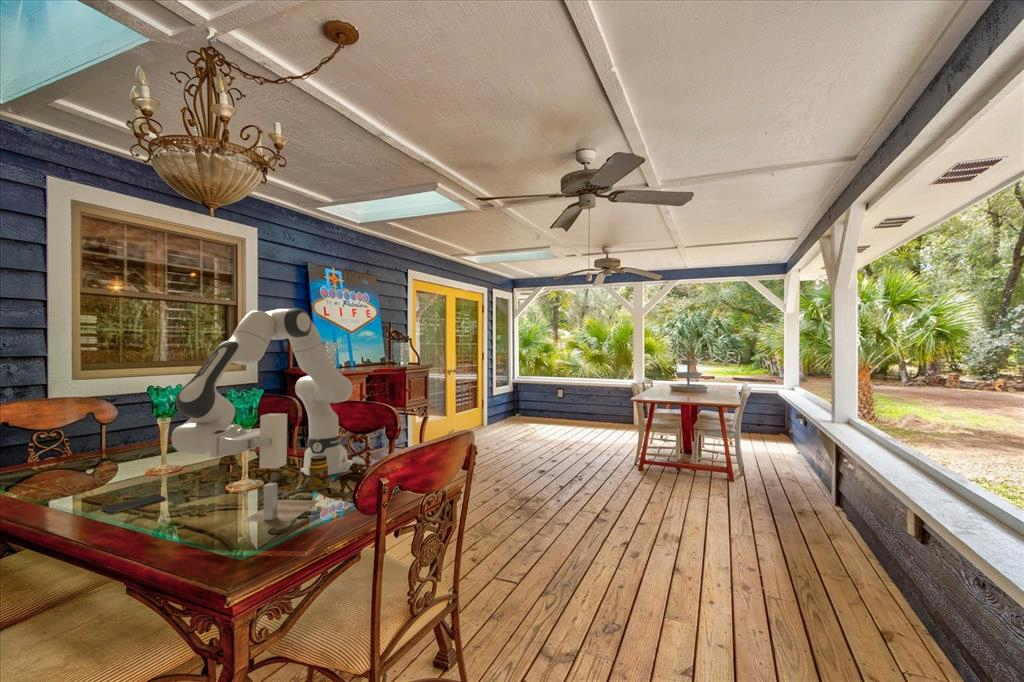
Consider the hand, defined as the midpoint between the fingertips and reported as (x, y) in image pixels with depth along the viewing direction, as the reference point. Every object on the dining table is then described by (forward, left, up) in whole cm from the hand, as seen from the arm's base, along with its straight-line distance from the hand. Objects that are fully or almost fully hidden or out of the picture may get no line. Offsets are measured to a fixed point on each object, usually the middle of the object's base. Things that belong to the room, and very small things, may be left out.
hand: (276, 440), depth 137 cm
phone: (-11, -53, -24) cm, 59 cm away
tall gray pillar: (0, -1, -7) cm, 8 cm away
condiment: (-27, -1, -24) cm, 36 cm away
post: (+2, -1, -22) cm, 23 cm away
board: (-5, -1, -23) cm, 24 cm away
